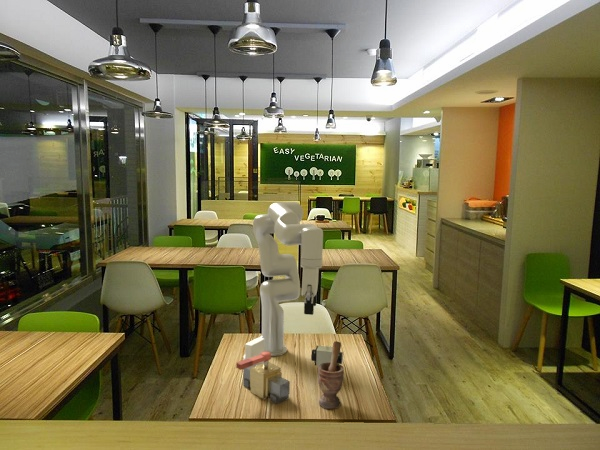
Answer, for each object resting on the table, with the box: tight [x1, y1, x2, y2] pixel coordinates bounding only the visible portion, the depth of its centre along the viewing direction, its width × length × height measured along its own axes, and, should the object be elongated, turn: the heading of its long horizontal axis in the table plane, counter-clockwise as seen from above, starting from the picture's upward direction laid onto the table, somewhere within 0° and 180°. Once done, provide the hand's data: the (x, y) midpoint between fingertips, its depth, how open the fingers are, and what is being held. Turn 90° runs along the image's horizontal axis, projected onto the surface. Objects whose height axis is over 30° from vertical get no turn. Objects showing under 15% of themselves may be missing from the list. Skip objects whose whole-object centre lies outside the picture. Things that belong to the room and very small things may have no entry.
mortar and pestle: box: [317, 340, 345, 410], centre depth 155 cm, size 12×9×20 cm
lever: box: [235, 351, 272, 371], centre depth 157 cm, size 14×4×2 cm, turn 135°
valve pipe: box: [242, 360, 291, 405], centre depth 161 cm, size 20×8×12 cm, turn 45°
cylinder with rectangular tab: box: [242, 336, 265, 365], centre depth 178 cm, size 9×9×12 cm
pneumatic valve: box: [310, 345, 344, 367], centre depth 175 cm, size 6×12×12 cm, turn 78°
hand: (310, 309), depth 161 cm, fingers open, 9 cm apart
